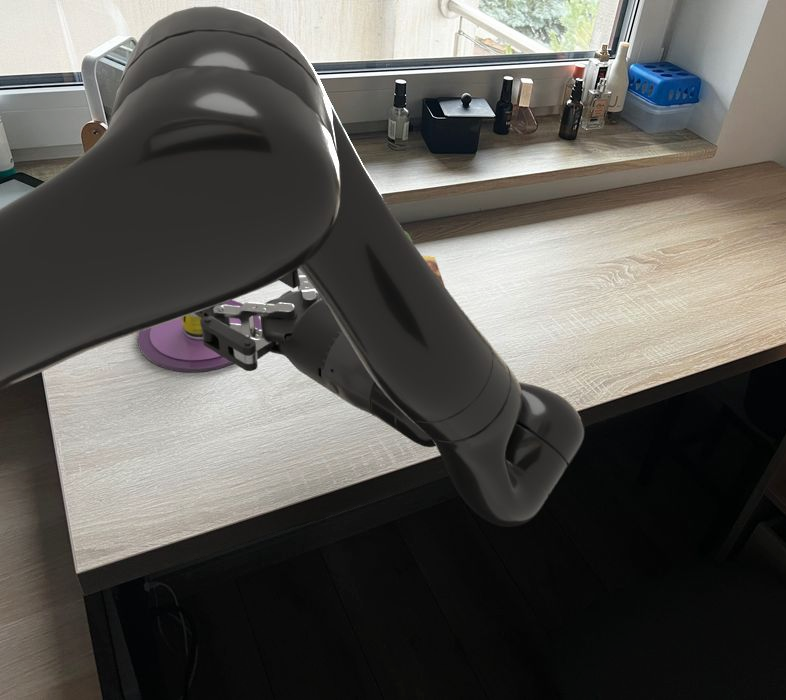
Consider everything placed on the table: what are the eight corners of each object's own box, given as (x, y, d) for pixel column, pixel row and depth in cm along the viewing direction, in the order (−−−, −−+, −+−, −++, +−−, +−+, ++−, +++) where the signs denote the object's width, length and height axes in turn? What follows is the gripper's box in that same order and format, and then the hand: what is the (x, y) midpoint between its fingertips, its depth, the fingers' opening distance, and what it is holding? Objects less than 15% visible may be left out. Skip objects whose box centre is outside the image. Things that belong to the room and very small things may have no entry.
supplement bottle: (183, 321, 99) (174, 269, 94) (219, 317, 100) (212, 266, 95) (184, 342, 95) (174, 289, 90) (221, 338, 97) (214, 286, 92)
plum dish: (171, 388, 89) (170, 384, 89) (118, 325, 98) (117, 320, 98) (285, 343, 99) (284, 338, 98) (227, 288, 107) (226, 284, 107)
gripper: (416, 286, 63) (289, 218, 70) (292, 359, 54) (159, 273, 61) (411, 352, 68) (292, 283, 75) (296, 431, 58) (172, 343, 65)
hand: (233, 279), depth 68 cm, fingers open, 8 cm apart
